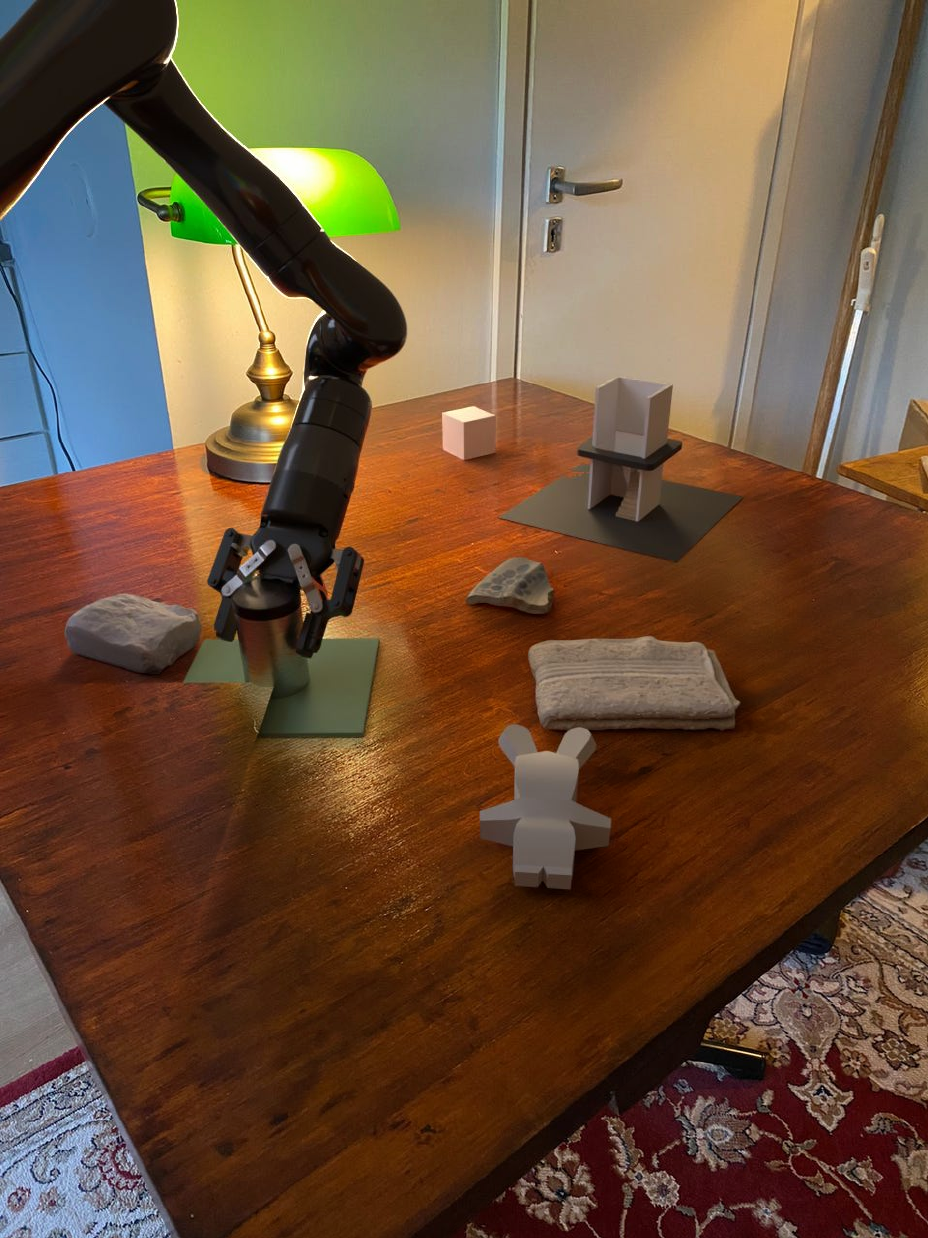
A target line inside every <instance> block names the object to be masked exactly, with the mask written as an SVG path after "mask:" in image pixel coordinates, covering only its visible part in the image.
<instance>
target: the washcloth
mask: <svg viewBox="0 0 928 1238" xmlns="http://www.w3.org/2000/svg"><path fill="white" fill-rule="evenodd" d="M527 659H528V663H529V666H530V671H531V674H532V677H533V678H534V680H535V689H534V691H535V705H536V708H537V710H536V712H537V714H538V718H539V723H540V725H541V726H542V728H543V729H545V730H549V731H550V730H554V731H555V730H559V731H567V732H568V731H569V730H571V729H574V728H579V727H581V728H585V729H588V731H604V730H625V729H626V730H630V729H631V730H632V729H640V728H642V729H652V730H654V729H656V730H659V729H661V730H675V729H679V730H680V729H681V730H683V731H687V730H690V731H696V730H707V729H714V730H718V731H719V730H720V731H722V732H723V731H724V730H733V729H734V728H735V727H736V717H735V716H736V710H737V709H738V707H739V706H740V705H741V701H739V700H737V698H735V695H734V693H733V692H732V690H731V686H730V685H729V682H728V680H727V677H726V675H725V672H724V670H723V667H722V665H721V663H720V660H719V659H718V657H717V654H716V651H715V650H713V649H708V648H706V645H705V644H703V643H702V642H699V641H691V642H690V641H689V642H684V641H683V642H682V641H679V642H678V641H667V640H660V639H657V638H656V637H655V636H651V635H645V636H641V637H636V638H587V639H572V640H571V639H568V640H567V639H566V640H565V639H563V640H557V639H556V640H554V639H550V640H545V641H542V642H539V643H535V644H534V645H532V646H531V647H530V648H529V650H528V654H527Z"/></svg>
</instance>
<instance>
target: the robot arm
mask: <svg viewBox="0 0 928 1238" xmlns="http://www.w3.org/2000/svg"><path fill="white" fill-rule="evenodd" d="M178 29H179V14H178V6H177V0H34V1H33V2H32V4H31V5H30V6H29V7H28V8H27V9H26V10H25V12H23V14H22V15H21V16H19V18H18V20H16V22H14V24H13V25H12V26H11V27H10V28H9V29H8V30H7V31H6V32H5V33H4V34H3V35H2V36H1V37H0V222H2V221H3V219H4V218H5V217H6V216H7V215H8V214H9V212H11V210H12V209H13V208H14V207H15V206H16V204H17V203H18V202H19V201H20V200H21V199H22V197H23V196H24V195H25V193H26V192H27V191H28V190H29V188H30V187H31V185H32V184H33V183H34V182H35V180H36V179H37V177H38V176H39V175H40V173H41V172H42V170H43V169H44V167H45V166H46V164H48V162H49V160H50V159H51V157H53V155H54V153H55V152H56V150H57V149H58V148H59V146H60V145H61V143H62V142H63V141H64V140H65V139H66V137H67V136H68V135H69V133H70V132H71V131H72V130H73V129H75V127H76V126H77V125H78V124H79V123H80V122H81V121H83V120H84V119H85V118H86V117H87V116H88V115H89V114H90V113H92V112H93V111H94V110H95V109H96V108H98V107H99V106H100V105H102V104H103V105H104V106H105V108H107V109H108V110H109V111H110V112H112V113H113V114H114V115H115V116H116V117H118V119H119V120H121V121H122V122H123V123H124V124H125V125H126V126H128V127H129V128H130V129H131V130H132V131H133V132H134V133H135V134H136V135H137V136H138V137H139V138H140V139H142V141H144V142H145V144H147V145H148V147H150V148H151V149H152V150H153V151H154V152H155V153H156V154H157V155H158V156H159V157H160V158H161V159H162V160H163V161H164V162H165V163H166V164H167V165H168V166H169V167H170V169H172V170H173V172H175V173H176V175H178V177H179V178H180V179H181V180H182V181H183V182H184V183H185V184H186V185H187V186H188V188H189V189H191V190H192V192H193V193H194V194H195V195H196V196H197V197H198V198H199V200H201V202H202V203H203V204H204V205H205V206H206V207H207V208H208V210H209V211H210V212H211V213H212V214H213V215H214V216H215V217H216V219H217V221H219V222H220V223H221V225H222V226H223V227H224V228H225V230H227V232H228V233H229V234H230V236H231V237H232V238H233V239H234V240H235V242H236V243H237V244H238V245H239V246H240V247H241V249H242V250H243V251H244V253H245V254H246V255H247V257H249V259H250V260H251V261H252V262H253V263H254V265H255V266H256V267H257V268H258V270H259V271H260V272H261V273H262V274H263V276H264V277H265V278H267V280H268V281H269V282H270V284H271V285H272V287H274V289H276V290H277V291H278V293H280V294H281V295H282V296H284V297H285V298H287V299H306V300H307V299H308V300H309V301H311V302H312V303H314V304H315V305H316V306H318V307H319V309H321V310H322V311H321V313H320V314H318V316H317V318H316V319H315V320H314V323H313V325H312V326H311V329H310V331H309V334H308V337H307V340H306V345H305V353H304V363H303V372H302V376H303V377H302V393H301V395H300V397H299V401H298V403H297V406H296V410H295V413H294V416H293V418H292V422H291V425H290V429H289V431H288V434H287V436H286V438H285V440H284V442H283V444H282V446H281V449H280V452H279V454H278V458H277V460H276V464H275V467H274V470H273V474H272V476H271V480H270V483H269V486H268V489H267V492H266V496H265V499H264V502H263V505H262V508H261V512H260V522H259V527H258V529H257V530H256V531H255V532H254V533H253V535H250V534H245V533H240V532H239V531H238V530H236V529H235V528H233V527H228V528H227V529H225V531H224V533H223V536H222V539H221V541H220V544H219V547H218V550H217V553H216V556H215V558H214V561H213V563H212V566H211V569H210V572H209V574H208V577H207V581H206V584H207V586H209V587H210V588H212V589H213V590H215V591H216V592H218V593H219V594H220V595H221V600H220V603H219V607H218V610H217V613H216V617H215V620H214V622H213V631H215V637H216V638H217V639H222V640H224V641H228V642H232V641H233V640H234V639H236V634H237V628H236V622H235V616H234V611H233V607H232V600H231V596H232V593H233V592H234V590H235V589H236V588H238V587H239V586H241V585H243V584H245V583H247V582H250V581H253V580H257V579H263V578H264V579H267V580H281V581H284V582H286V583H290V584H297V585H298V586H299V588H300V591H303V593H304V595H305V597H306V600H307V601H306V602H307V603H308V604H307V605H308V607H309V609H310V612H305V615H304V618H303V625H302V629H301V632H300V636H299V639H298V642H297V646H296V653H297V654H299V655H300V656H302V657H305V658H311V657H312V656H313V653H317V652H318V650H319V649H320V647H321V643H322V640H323V639H324V637H325V633H326V629H327V625H328V623H329V621H330V620H331V619H333V618H337V617H343V618H348V617H350V616H351V615H352V613H353V609H354V605H355V601H356V598H357V595H358V594H357V593H358V589H359V585H360V583H361V582H360V581H361V577H362V573H363V569H364V565H365V558H364V557H363V556H362V555H361V553H359V551H357V549H355V548H354V547H352V546H346V547H345V548H344V549H341V548H336V542H337V540H338V539H339V537H340V535H341V531H342V528H343V524H344V521H345V518H346V514H347V511H348V508H349V503H350V500H351V497H352V493H353V492H354V489H355V485H356V479H357V476H358V471H359V464H360V457H361V454H362V453H361V452H362V450H363V447H364V443H365V439H366V437H367V434H368V429H369V427H370V422H371V418H372V417H371V416H372V412H373V403H372V402H373V401H372V398H371V396H370V394H369V393H368V391H367V390H366V389H365V387H363V383H364V379H365V376H366V374H367V372H368V370H370V369H371V368H373V367H375V366H378V365H380V364H383V363H384V362H387V361H389V360H391V359H393V358H394V357H395V356H397V355H398V354H399V353H400V352H401V351H402V349H403V348H404V347H405V345H406V342H407V339H408V323H407V318H406V314H405V312H404V309H403V308H402V306H401V303H400V302H399V300H398V299H397V297H396V296H395V295H394V293H393V291H391V290H390V289H389V287H387V285H386V284H385V283H383V282H382V281H381V279H379V278H378V277H377V276H375V275H374V274H373V273H372V272H371V271H370V270H368V269H367V268H366V266H364V265H362V264H361V263H360V262H359V261H357V260H356V259H355V258H354V257H353V256H352V255H350V254H349V253H348V252H346V251H345V250H343V249H342V248H341V247H339V245H337V244H336V243H335V242H333V240H332V239H331V238H330V237H329V235H328V234H327V232H326V231H325V230H324V229H323V227H322V226H321V224H320V223H319V222H318V221H317V220H316V218H315V217H314V216H313V215H312V213H311V211H309V209H308V208H307V207H306V205H305V204H304V203H303V201H302V200H301V199H300V198H299V196H298V194H296V192H294V190H293V189H292V188H291V187H290V185H288V183H286V182H285V180H284V179H283V178H282V177H281V176H279V174H278V173H277V172H276V171H274V169H273V168H271V167H270V166H269V165H268V164H267V163H265V161H263V160H262V159H261V158H260V157H258V156H257V155H256V154H255V153H254V152H252V151H251V150H250V149H248V147H246V146H245V145H243V143H241V142H240V141H239V140H238V139H237V138H236V137H235V136H233V134H231V133H230V132H229V131H227V129H225V127H223V125H222V124H221V123H220V122H218V120H217V119H216V118H215V117H214V116H213V115H212V114H211V113H210V112H209V110H207V108H206V107H205V106H204V104H202V103H201V101H200V100H199V99H198V97H197V96H196V94H195V93H194V92H193V90H192V89H191V87H190V86H189V84H188V82H187V81H186V79H185V77H183V75H182V73H181V72H180V70H179V69H178V66H177V65H176V64H175V61H174V60H173V58H172V56H173V53H174V50H175V47H176V43H177V39H178ZM250 550H251V553H252V556H251V557H250V558H249V559H247V560H246V561H245V562H244V563H243V564H242V565H241V563H242V560H243V558H244V557H247V556H248V554H249V551H250ZM333 564H334V568H335V570H336V571H337V572H336V576H335V580H334V584H333V589H332V591H331V596H330V599H329V597H328V596H329V593H328V590H327V588H326V584H325V581H324V579H323V576H322V575H323V573H325V572H326V571H327V570H328V569H329V568H330V567H331V566H333ZM257 572H258V573H257ZM256 573H257V574H256Z"/></svg>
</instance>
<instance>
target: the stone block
mask: <svg viewBox="0 0 928 1238" xmlns="http://www.w3.org/2000/svg"><path fill="white" fill-rule="evenodd" d="M202 630H203V626H202V623H201V620H200V617H199V614H198V613H197V611H196V610H195V609H193V608H187V607H183V605H180V604H171V605H170V604H166V603H164V602H161V601H153V600H151V599H150V598H147V597H144V596H142V595H141V596H140V595H136V594H131V593H116V594H113V595H110V596H107V597H104V598H98V599H97V600H96V601H94V602H92V603H89V604H86V605H85V606H83V607H82V608H81V609H79V610H77V611H76V612H75V613H74V614H72V615H71V616H70V617H69V618H68V619H67V622H66V624H65V629H64V637H65V639H66V641H67V642H66V643H67V647H68V650H69V651H70V652H72V653H73V654H75V655H79V656H81V657H85V658H88V659H91V660H94V661H97V662H101V663H106V664H108V665H110V666H113V667H119V668H124V669H126V670H127V671H132V672H134V673H138V674H150V675H155V676H156V675H159V674H161V672H163V670H164V669H165V668H167V667H171V666H172V665H173V664H174V663H175V662H176V660H177V659H178V658H179V657H181V656H183V655H184V654H186V653H187V652H189V651H191V650H192V649H193V648H194V647H195V646H197V645H198V643H199V642H200V639H201V634H202Z"/></svg>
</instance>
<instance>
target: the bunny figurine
mask: <svg viewBox="0 0 928 1238" xmlns="http://www.w3.org/2000/svg"><path fill="white" fill-rule="evenodd" d="M497 742H498V747H499V748H500V749H501V750H502V752H503V753H504V754H505V756H506V757H507V759H508V760H509V762H510V763H511V764H512V765H513V767H514V784H513V785H514V787H513V789H514V790H513V795H514V796H513V798H514V799H512V800H509V801H506V802H504V803H500V804H497V805H494V806H491V807H488V808H485V809H482V810H480V811H479V839H481V840H485V841H489V842H493V843H497V844H501V845H504V846H508V847H513V848H512V849H513V850H512V872H513V873H512V874H513V878H514V887H529V888H538V887H539V886H540V885H541V883H542V882H543V883H544V884H545V886H546V888H547V889H559V890H572V881H573V876H574V866H575V852H576V851H581V850H589V849H595V848H601V847H602V848H604V847H609V846H610V836H611V827H612V817H611V818H610V817H609V816H606V815H604V814H602V813H600V812H597V811H595V810H593V809H590V808H589V807H586V806H584V805H582V804H580V803H578V802H577V798H578V783H579V774H580V773H579V770H580V769H581V768H582V767H583V766H584V764H585V763H586V762H587V761H588V760H589V758H590V757H591V756H592V755H593V754H594V753H595V752H596V749H597V743H596V741H595V739H594V737H593V735H592V733H591V732H590V730H588V729H585V728H581V727H579V728H574V729H571V730H569V731H568V730H567V731H566V732H565V733H564V735H563V737H562V739H561V742H560V744H559V745H558V748H557V750H556V752H554V751H548V750H544V751H538V749H537V747H536V744H535V741H534V739H533V736H532V734H531V732H530V731H529V729H528V728H527V727H525V726H523V725H520V724H516V723H514V724H508V725H507V726H506V727H505V728H504V729H503V731H502V733H501V734H500V736H499V737H498V740H497Z"/></svg>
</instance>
